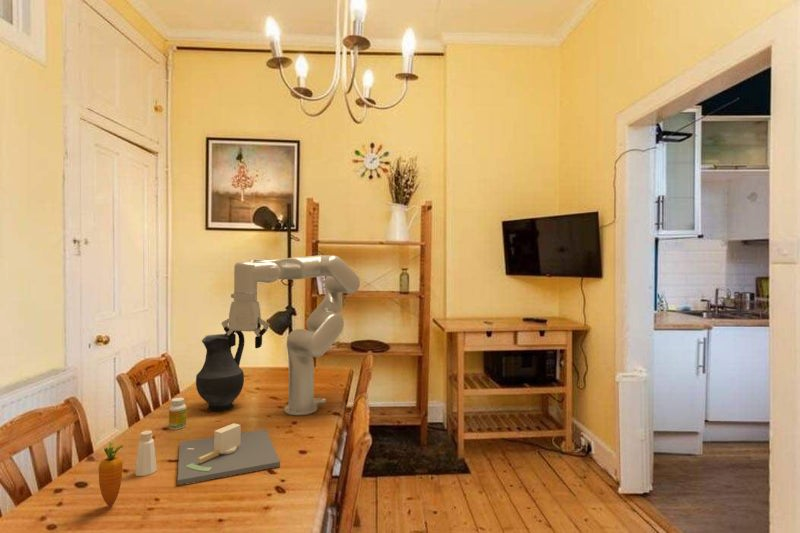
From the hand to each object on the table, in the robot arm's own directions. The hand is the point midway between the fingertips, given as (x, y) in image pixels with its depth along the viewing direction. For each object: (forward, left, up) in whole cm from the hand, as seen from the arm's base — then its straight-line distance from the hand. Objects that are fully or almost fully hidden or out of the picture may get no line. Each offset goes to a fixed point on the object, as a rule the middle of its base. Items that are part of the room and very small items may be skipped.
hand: (245, 346), depth 152 cm
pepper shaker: (+28, +22, -28) cm, 46 cm away
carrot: (+34, +38, -28) cm, 58 cm away
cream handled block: (+9, +23, -27) cm, 36 cm away
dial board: (+7, +21, -28) cm, 36 cm away
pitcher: (+5, -26, -28) cm, 39 cm away
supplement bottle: (+21, -10, -28) cm, 37 cm away
